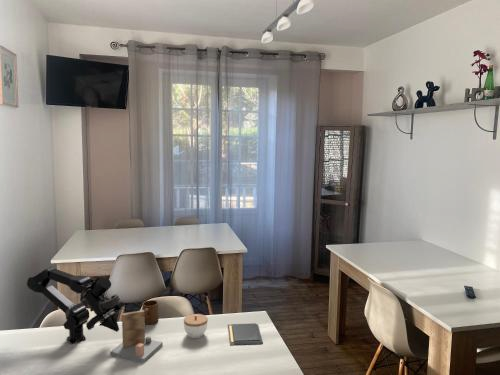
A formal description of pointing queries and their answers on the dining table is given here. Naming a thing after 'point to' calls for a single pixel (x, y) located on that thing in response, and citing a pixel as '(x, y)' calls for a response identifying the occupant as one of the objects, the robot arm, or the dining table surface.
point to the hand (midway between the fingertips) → (118, 330)
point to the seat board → (132, 351)
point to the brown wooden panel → (133, 328)
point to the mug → (150, 311)
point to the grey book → (244, 334)
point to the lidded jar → (195, 325)
